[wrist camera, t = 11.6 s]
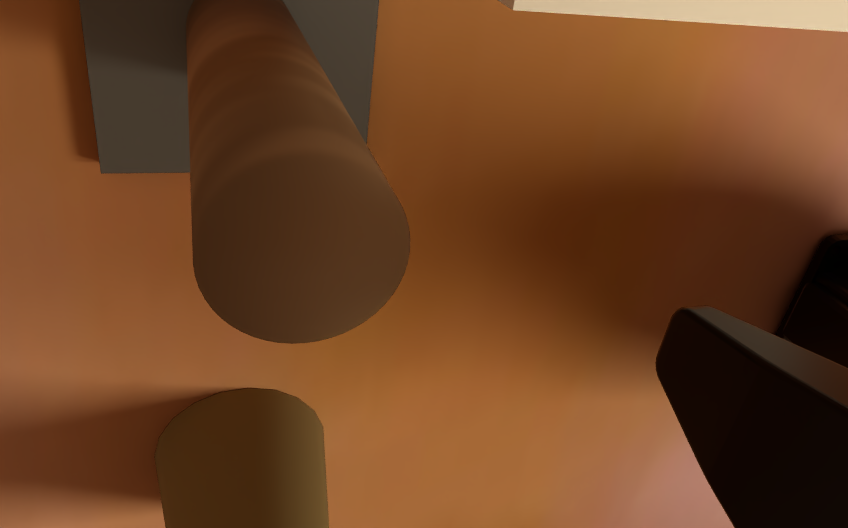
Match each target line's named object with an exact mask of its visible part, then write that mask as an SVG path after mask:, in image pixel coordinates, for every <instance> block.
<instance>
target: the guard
mask: <svg viewBox="0 0 848 528" xmlns="http://www.w3.org/2000/svg"><path fill="white" fill-rule="evenodd" d="M498 1H500V2H501V3H503V4H504V5H506V6H507V7H509V8H510V9H512V10H518V11H534V12H549V13H565V14H580V15H596V16H611V17H626V18H642V19H657V20H673V21H688V22H704V23H719V24H735V25H750V26H765V27H781V28H796V29H812V30H827V31H843V32H848V0H498Z"/></svg>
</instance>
